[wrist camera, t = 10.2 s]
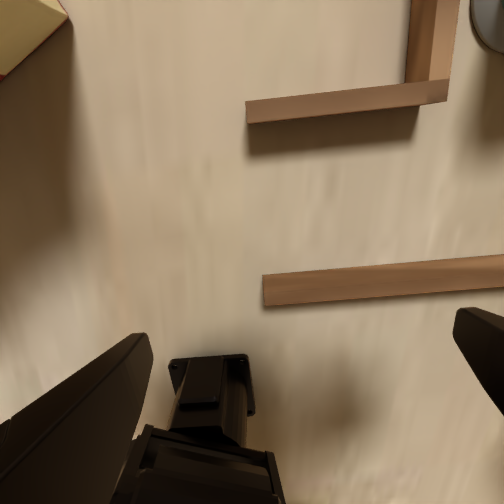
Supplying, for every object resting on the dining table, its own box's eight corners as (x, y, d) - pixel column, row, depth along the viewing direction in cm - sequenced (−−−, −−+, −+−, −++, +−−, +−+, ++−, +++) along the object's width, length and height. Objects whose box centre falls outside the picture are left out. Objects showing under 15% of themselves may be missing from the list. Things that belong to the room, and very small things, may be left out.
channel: (562, 262, 21) (601, 278, 18) (263, 287, 22) (265, 306, 19) (694, -146, 13) (788, -204, 11) (228, -81, 14) (223, -122, 12)
